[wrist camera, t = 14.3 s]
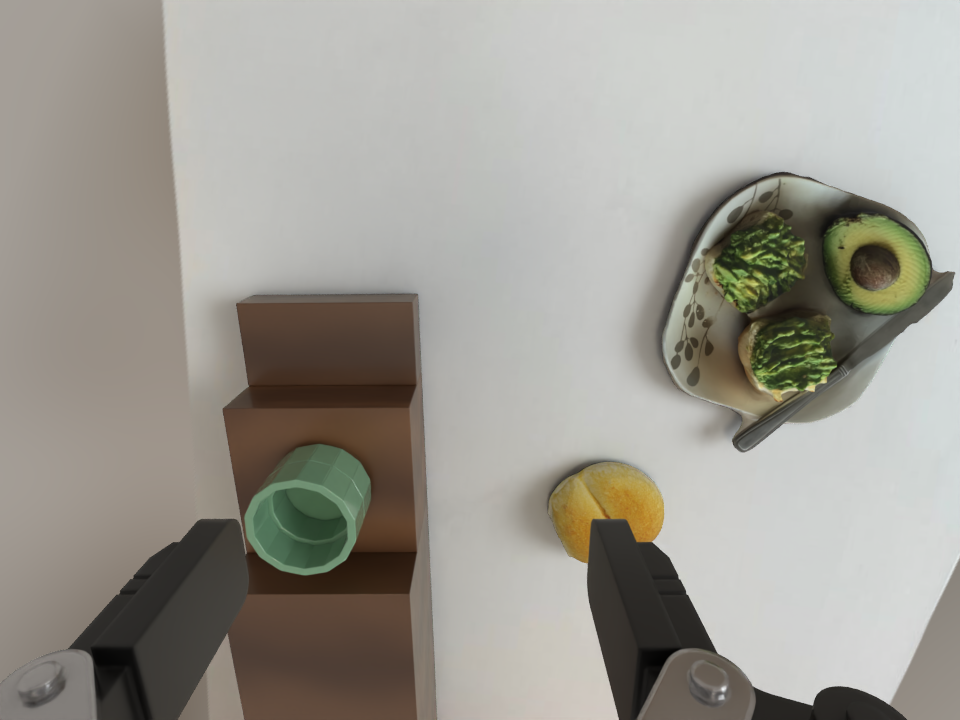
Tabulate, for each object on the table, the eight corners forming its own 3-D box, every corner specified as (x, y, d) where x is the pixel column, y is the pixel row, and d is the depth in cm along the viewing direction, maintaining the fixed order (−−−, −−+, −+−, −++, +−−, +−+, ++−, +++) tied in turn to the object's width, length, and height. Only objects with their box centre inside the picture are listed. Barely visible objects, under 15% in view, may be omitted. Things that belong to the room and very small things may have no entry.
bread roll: (672, 518, 44) (689, 549, 41) (574, 559, 46) (582, 593, 42) (634, 439, 42) (649, 464, 38) (532, 484, 43) (537, 513, 40)
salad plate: (819, 469, 43) (857, 502, 39) (615, 404, 41) (631, 430, 37) (959, 237, 37) (1022, 244, 33) (728, 151, 36) (763, 145, 31)
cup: (262, 501, 36) (229, 549, 31) (298, 423, 34) (268, 462, 29) (349, 539, 37) (329, 591, 32) (388, 465, 35) (373, 508, 30)
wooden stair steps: (253, 294, 39) (169, 334, 28) (418, 293, 39) (394, 332, 28) (332, 851, 58) (298, 999, 47) (443, 851, 57) (434, 999, 47)
